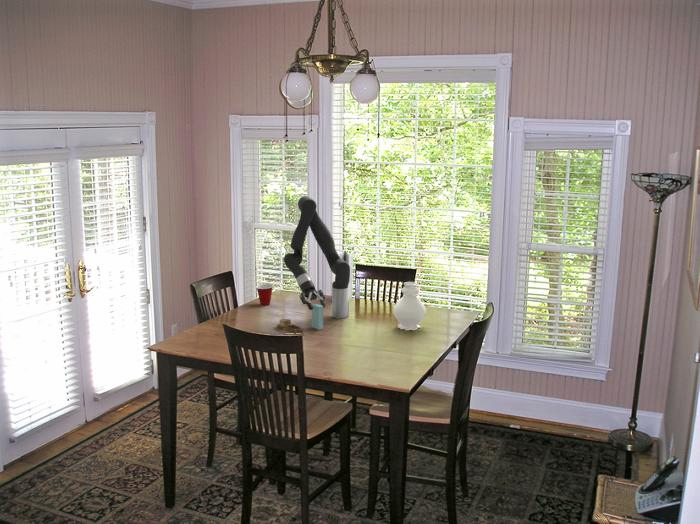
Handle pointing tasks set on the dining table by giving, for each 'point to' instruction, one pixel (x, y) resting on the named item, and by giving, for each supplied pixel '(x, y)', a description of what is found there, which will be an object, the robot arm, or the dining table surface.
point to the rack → (292, 330)
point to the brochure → (349, 260)
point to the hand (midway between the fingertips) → (318, 308)
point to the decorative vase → (409, 308)
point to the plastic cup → (264, 293)
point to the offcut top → (285, 321)
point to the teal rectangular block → (317, 316)
